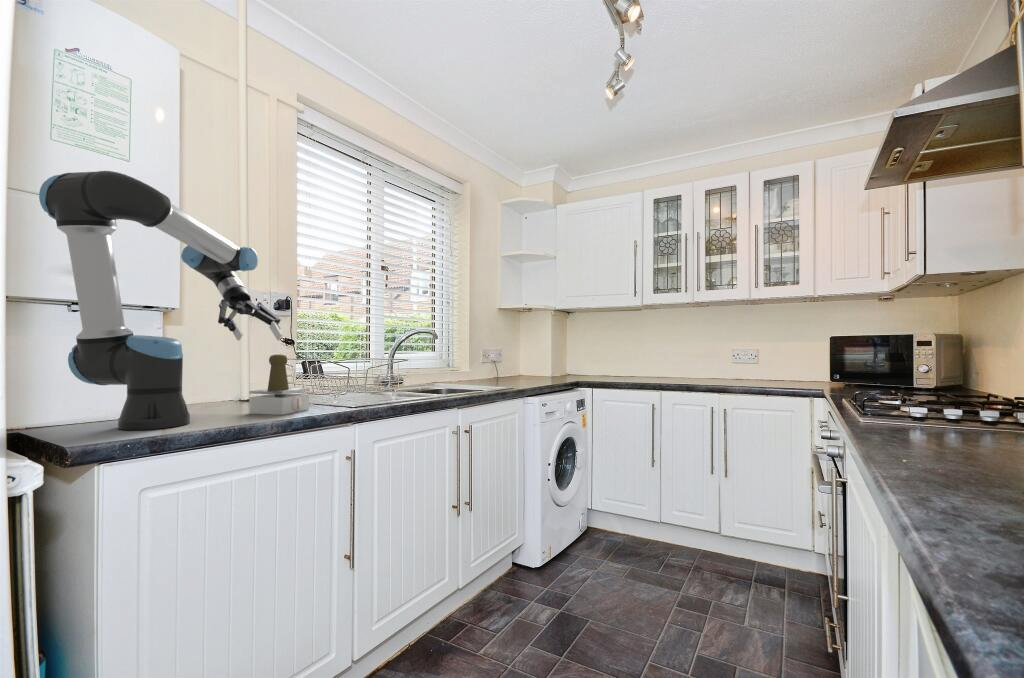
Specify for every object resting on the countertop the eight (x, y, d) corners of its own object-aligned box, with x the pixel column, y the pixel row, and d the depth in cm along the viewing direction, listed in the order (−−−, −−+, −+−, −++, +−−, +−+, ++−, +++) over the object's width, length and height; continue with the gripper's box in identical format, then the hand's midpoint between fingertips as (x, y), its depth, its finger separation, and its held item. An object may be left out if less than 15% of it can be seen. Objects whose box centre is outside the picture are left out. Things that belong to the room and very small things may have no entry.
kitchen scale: (284, 414, 145) (284, 394, 145) (249, 413, 148) (249, 393, 148) (311, 409, 157) (311, 390, 157) (277, 408, 160) (277, 390, 160)
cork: (292, 388, 155) (292, 354, 155) (282, 390, 149) (281, 354, 149) (274, 388, 155) (274, 354, 155) (263, 390, 149) (263, 354, 149)
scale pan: (282, 394, 145) (282, 391, 145) (249, 393, 148) (249, 391, 148) (309, 390, 157) (309, 388, 157) (277, 389, 160) (277, 387, 160)
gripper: (264, 304, 178) (290, 345, 170) (191, 299, 156) (216, 345, 148) (273, 289, 175) (300, 330, 167) (199, 281, 154) (226, 328, 146)
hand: (261, 337), depth 158 cm, fingers open, 13 cm apart
